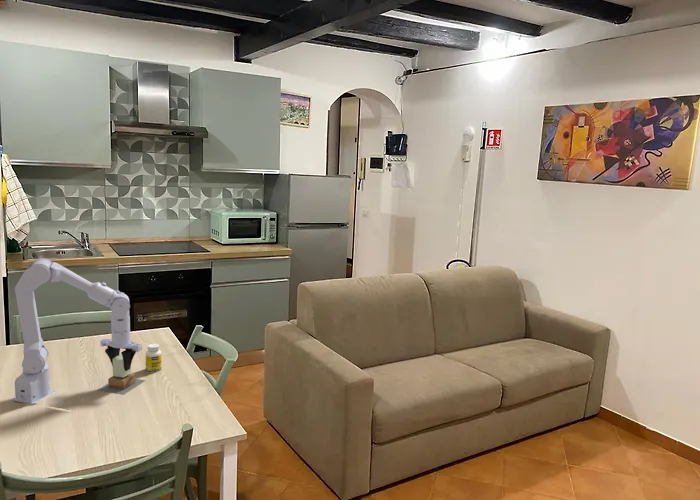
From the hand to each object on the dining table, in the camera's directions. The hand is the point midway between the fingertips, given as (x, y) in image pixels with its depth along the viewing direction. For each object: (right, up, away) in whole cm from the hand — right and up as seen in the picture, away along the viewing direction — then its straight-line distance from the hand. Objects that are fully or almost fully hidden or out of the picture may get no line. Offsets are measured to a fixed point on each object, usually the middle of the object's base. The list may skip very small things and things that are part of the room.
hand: (121, 368), depth 184 cm
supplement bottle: (+5, -4, +15) cm, 17 cm away
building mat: (0, -6, +1) cm, 6 cm away
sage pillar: (0, -2, +1) cm, 2 cm away
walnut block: (0, -6, +1) cm, 6 cm away
